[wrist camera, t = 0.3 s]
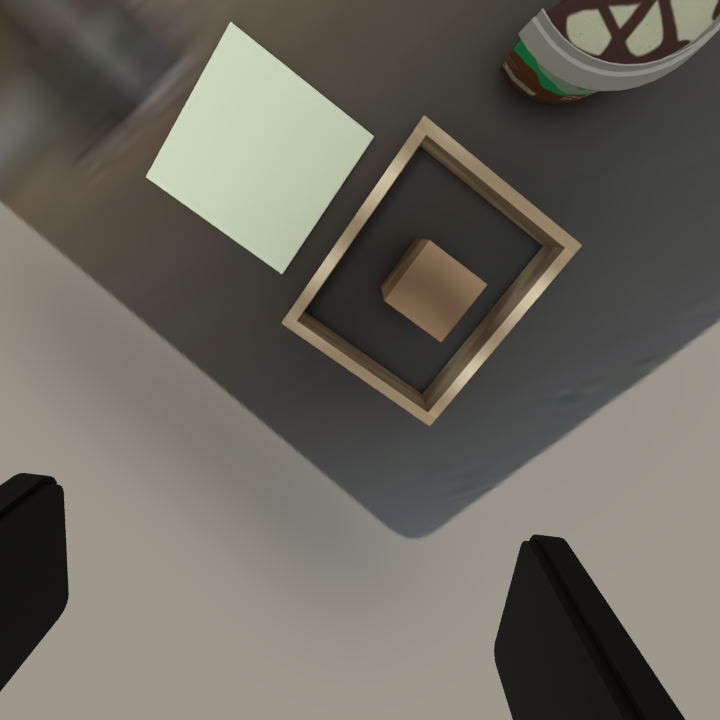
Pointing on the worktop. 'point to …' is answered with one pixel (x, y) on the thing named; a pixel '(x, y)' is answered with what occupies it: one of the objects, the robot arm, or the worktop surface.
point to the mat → (258, 151)
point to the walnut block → (431, 288)
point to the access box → (494, 324)
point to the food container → (606, 45)
